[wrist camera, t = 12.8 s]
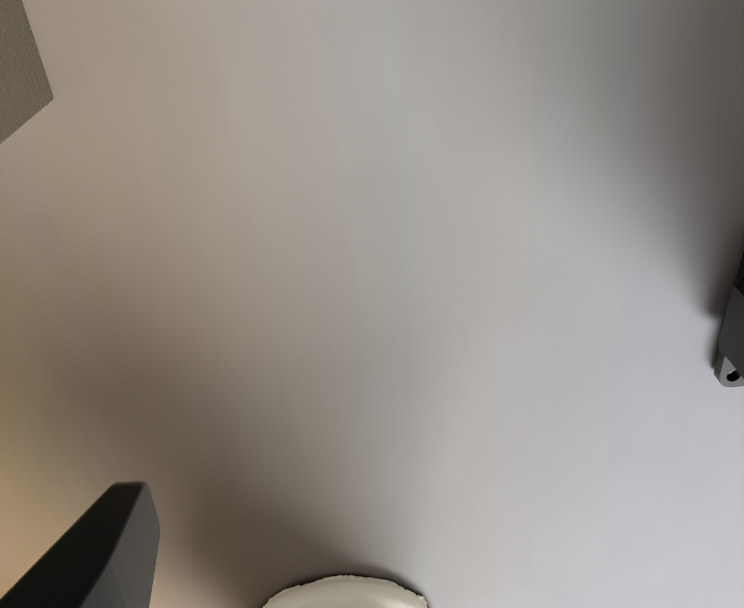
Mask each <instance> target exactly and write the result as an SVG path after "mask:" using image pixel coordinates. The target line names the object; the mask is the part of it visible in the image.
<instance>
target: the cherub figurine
mask: <svg viewBox="0 0 744 608" xmlns="http://www.w3.org/2000/svg"><path fill="white" fill-rule="evenodd" d="M299 586H300V584H299V585H297V586H295V587H293V588H289V589H288V588H287V589H285V590H282V591H281V592H280V593H278V594H276V595H275V596H274V597H273V598H270V599H269V600H268V602H267V604H266V605H265V606H263V607H262V608H427V603H426V601H425V600H424V599H425V598H423V596H422V597H421V596H419V595H416V594H415V593H414V592H411V591H410V590H408V589H406V590H404V588H403V587H402V586H398V584H396V583H395V582H391V581H388V580H384V579H382V580H381V579H376V578H375V579H374V578H371V577H368V578H365V577H359V576H357V577H355V576H353V575H350V576H347V575H345V576H343V575H338V576H333V577H328V578H323V579H322V580H321V579H320V580H317V581H315V582H313V583H310V584H305V585H303V586H300V587H299Z"/></svg>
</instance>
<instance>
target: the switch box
mask: <svg viewBox="0 0 744 608" xmlns="http://www.w3.org/2000/svg"><path fill="white" fill-rule="evenodd" d="M52 100H53V96H52V93H51V90H50V87H49V84H48V81H47V78H46V75H45V72H44V69H43V66H42V63H41V59H40V56H39V53H38V50H37V47H36V44H35V41H34V38H33V35H32V32H31V29H30V26H29V23H28V20H27V17H26V14H25V11H24V8H23V5H22V2H21V0H0V144H1V143H2V142H3V141H4V140H5V139H7V138H8V137H9V136H10V135H11V134H13V133H14V132H15V131H16V130H17V129H19V128H20V127H21V126H22V125H23V124H25V123H26V122H27V121H28V120H29V119H30V118H32V117H33V116H34V115H35V114H36V113H38V112H39V111H40V110H41V109H42V108H44V107H45V106H46V105H47V104H48V103H49V102H51V101H52Z"/></svg>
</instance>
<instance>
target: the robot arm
mask: <svg viewBox="0 0 744 608" xmlns="http://www.w3.org/2000/svg"><path fill="white" fill-rule="evenodd" d="M718 347H719V348H720V349H719V353H718V357H717V361H716V365H715V369H714V375H715V376H716V378H717V379H718V380H719V382H720V383H721V384H722V385H723V386H725V387H737V386H744V253H743V257H742V261H741V265H740V269H739V273H738V277H737V281H736V282H735V283H734V285H733V286H732V290H731V294H730V298H729V302H728V306H727V310H726V314H725V318H724V322H723V326H722V330H721V334H720V338H719V342H718ZM731 371H733V372H732V373H730V372H731ZM728 373H730V374H728ZM159 536H160V527H159V520H158V517H157V513H156V510H155V506H154V503H153V500H152V496H151V493H150V489H149V487H148V485H147V484H146V483H145V482H142V481H130V482H117V483H115V484H113V485H111V486H110V487H109V488H108V489H107V490H106V491H105V492H104V493H103V494H102V495H101V496H100V497H99V498H98V499H97V500H96V501H95V502H94V503H93V505H92V506H91V507H90V508H89V509H88V510H87V511H86V512H85V513H84V514H83V515H82V516H81V517H80V518H79V519H78V520H77V521H76V522H75V523H74V524H73V525H72V526H71V527H70V528H69V529H68V530H67V531H66V532H65V533H64V534H63V535H62V536H61V537H60V538H59V539H58V540H57V541H56V542H55V544H54V545H53V546H52V547H51V548H50V549H49V550H48V551H47V552H46V553H45V554H44V555H43V556H42V557H41V558H40V559H39V560H38V561H37V562H36V563H35V564H34V565H33V566H32V567H31V568H30V569H29V570H28V571H27V572H26V573H25V574H24V575H23V576H22V577H21V578H20V579H19V580H18V582H17V583H16V584H15V585H14V586H13V587H12V588H11V589H10V590H9V591H8V592H7V593H6V594H5V595H4V596H3V597H2V598H1V599H0V608H149V604H150V597H151V591H152V584H153V578H154V571H155V564H156V558H157V551H158V544H159Z"/></svg>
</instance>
